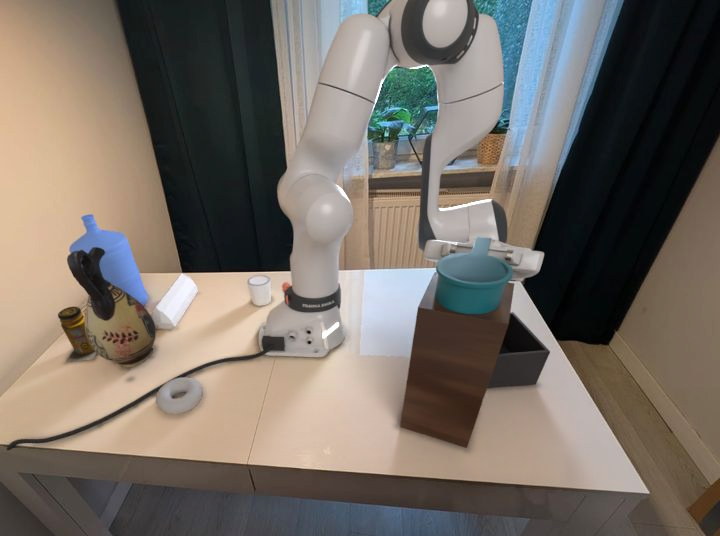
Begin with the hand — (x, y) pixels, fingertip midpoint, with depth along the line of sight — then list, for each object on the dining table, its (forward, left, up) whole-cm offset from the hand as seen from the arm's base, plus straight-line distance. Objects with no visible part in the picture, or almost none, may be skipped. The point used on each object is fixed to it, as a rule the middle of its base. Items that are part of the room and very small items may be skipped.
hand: (480, 251), depth 66 cm
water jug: (-87, +43, -28) cm, 101 cm away
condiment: (-90, +20, -29) cm, 96 cm away
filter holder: (-5, -8, -1) cm, 9 cm away
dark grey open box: (+8, +1, -28) cm, 29 cm away
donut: (-60, -2, -28) cm, 66 cm away
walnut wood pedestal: (-7, -12, -28) cm, 31 cm away
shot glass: (-43, +38, -28) cm, 64 cm away
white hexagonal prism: (-69, +37, -28) cm, 83 cm away
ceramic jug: (-76, +15, -28) cm, 82 cm away
